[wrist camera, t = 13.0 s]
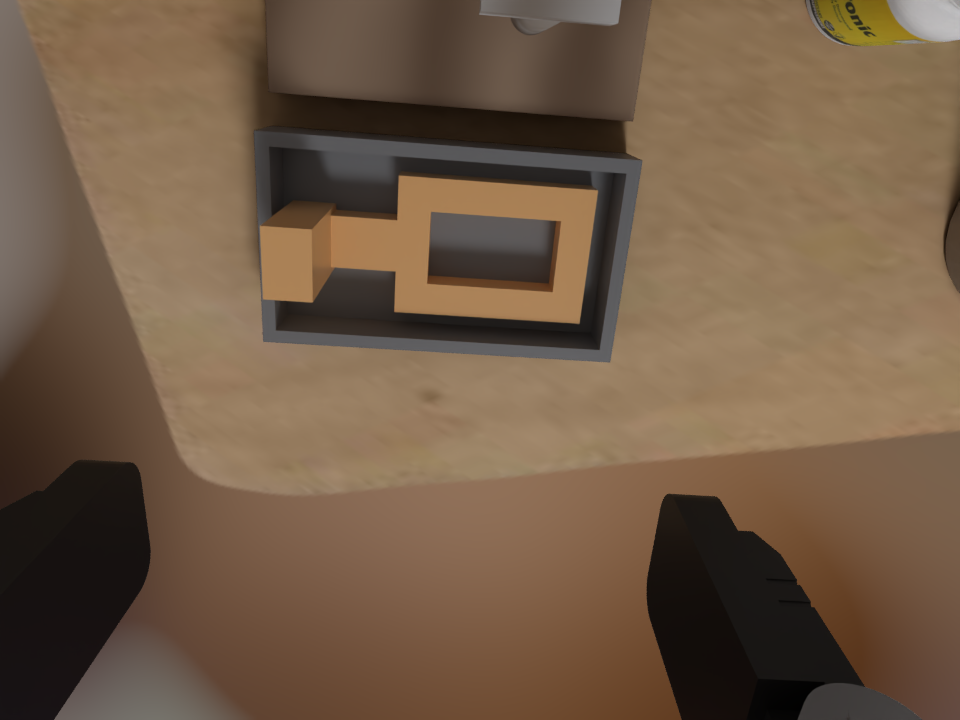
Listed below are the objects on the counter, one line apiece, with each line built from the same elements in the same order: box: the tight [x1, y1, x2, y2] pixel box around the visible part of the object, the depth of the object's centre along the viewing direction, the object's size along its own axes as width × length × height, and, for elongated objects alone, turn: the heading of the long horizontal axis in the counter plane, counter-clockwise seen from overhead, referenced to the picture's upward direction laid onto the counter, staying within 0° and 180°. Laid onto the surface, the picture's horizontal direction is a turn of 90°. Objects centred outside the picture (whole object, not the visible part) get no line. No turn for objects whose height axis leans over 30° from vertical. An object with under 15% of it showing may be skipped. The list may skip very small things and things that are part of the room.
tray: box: [254, 126, 642, 362], centre depth 33 cm, size 17×10×3 cm, turn 85°
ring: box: [260, 171, 598, 324], centre depth 31 cm, size 14×6×6 cm, turn 85°
